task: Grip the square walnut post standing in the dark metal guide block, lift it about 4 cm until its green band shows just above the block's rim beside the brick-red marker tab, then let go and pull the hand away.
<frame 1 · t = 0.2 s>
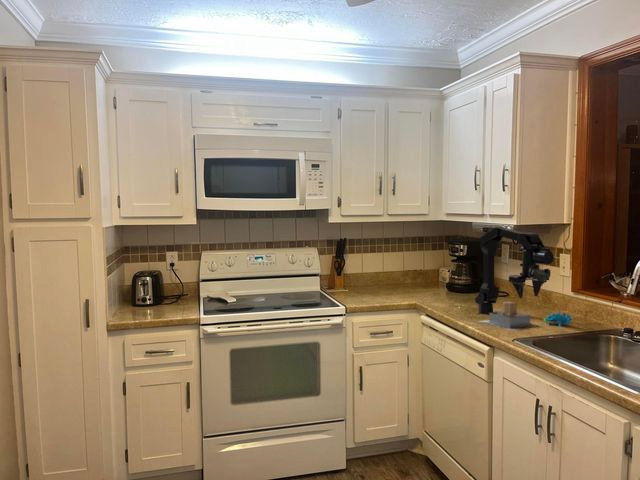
hand: (528, 297, 209), 14 cm above the counter, tool pointing down, fingers open, 9 cm apart
base plate: (509, 326, 213), on the counter
post: (509, 313, 213), point 6 cm above the counter, slide at 0.0 cm
gear: (557, 328, 210), on the counter
guide block: (509, 323, 213), resting on base plate
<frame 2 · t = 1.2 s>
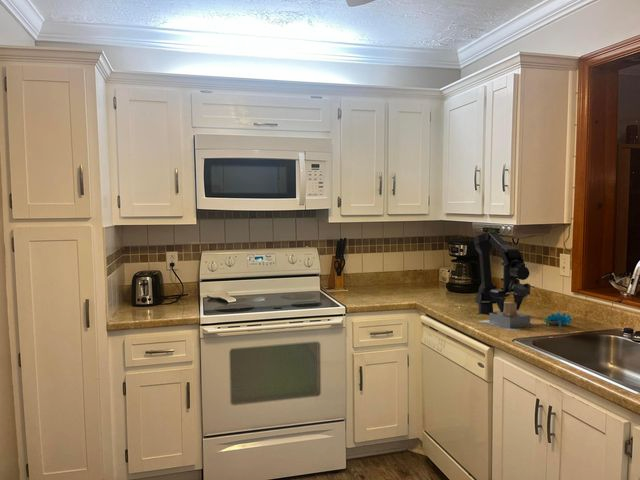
hand: (509, 311, 213), 7 cm above the counter, tool pointing down, fingers open, 9 cm apart
nothing on the counter moved.
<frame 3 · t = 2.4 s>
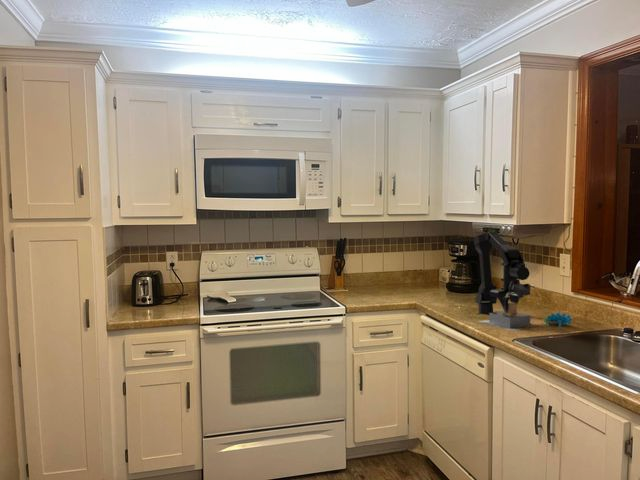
hand: (509, 311, 213), 7 cm above the counter, tool pointing down, fingers closed on post, 4 cm apart
post: (509, 313, 213), point 6 cm above the counter, slide at 0.0 cm, touching gripper
everything else where it was.
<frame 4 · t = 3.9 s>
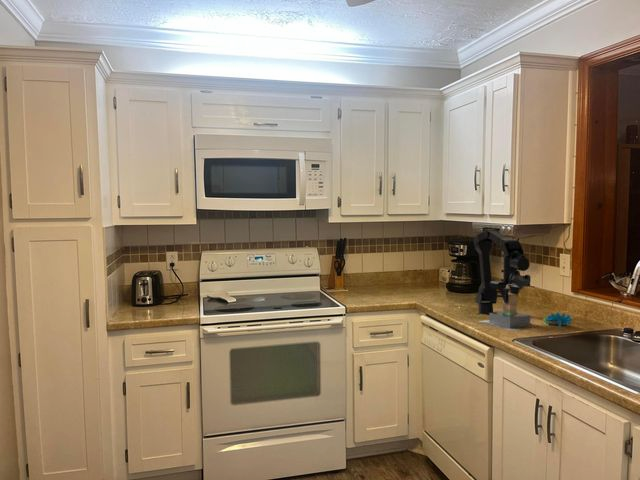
hand: (509, 302, 213), 11 cm above the counter, tool pointing down, fingers closed on post, 4 cm apart
post: (509, 304, 213), point 10 cm above the counter, slide at 3.9 cm, touching gripper
everything else where it was.
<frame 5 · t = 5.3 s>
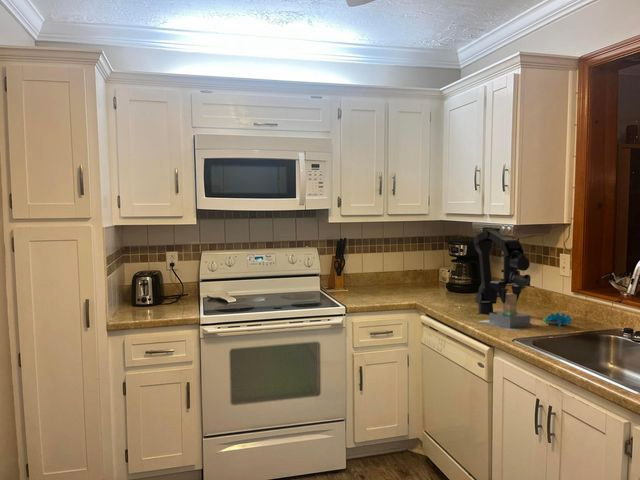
hand: (509, 302, 213), 11 cm above the counter, tool pointing down, fingers open, 7 cm apart
post: (509, 304, 213), point 10 cm above the counter, slide at 3.9 cm
everything else where it was.
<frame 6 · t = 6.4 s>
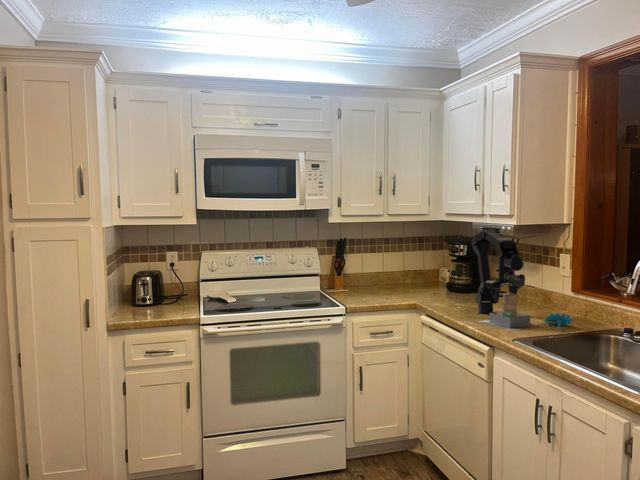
hand: (504, 301, 216), 11 cm above the counter, tool pointing down, fingers open, 9 cm apart
nothing on the counter moved.
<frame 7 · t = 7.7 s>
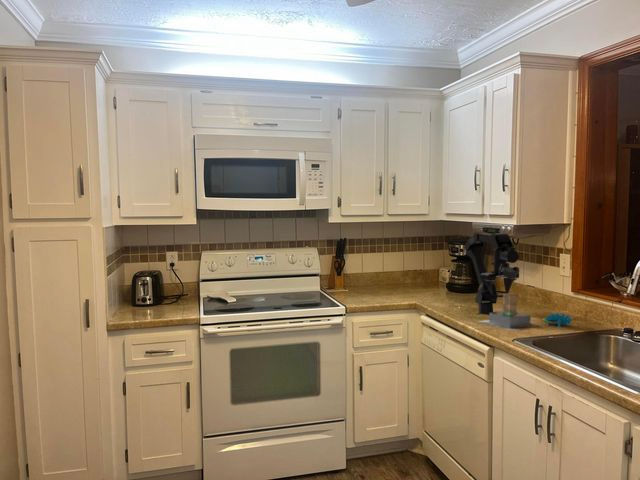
hand: (499, 293, 222), 13 cm above the counter, tool pointing down, fingers open, 9 cm apart
nothing on the counter moved.
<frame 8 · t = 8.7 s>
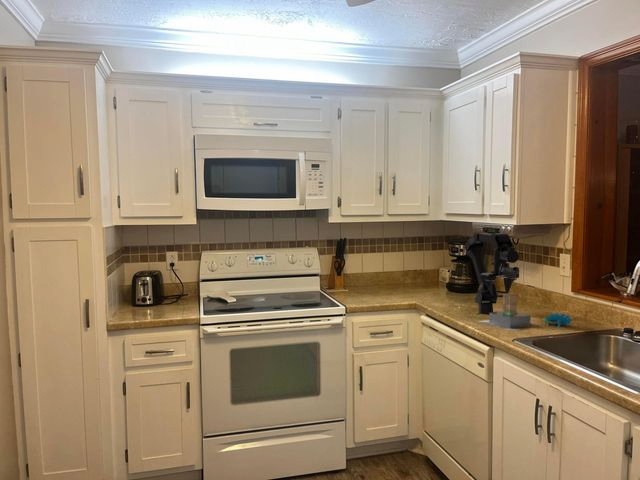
hand: (499, 293, 222), 13 cm above the counter, tool pointing down, fingers open, 9 cm apart
nothing on the counter moved.
at the end: post slide at 3.9 cm; the gripper is holding nothing; gear moved 1.0 cm from its start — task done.
